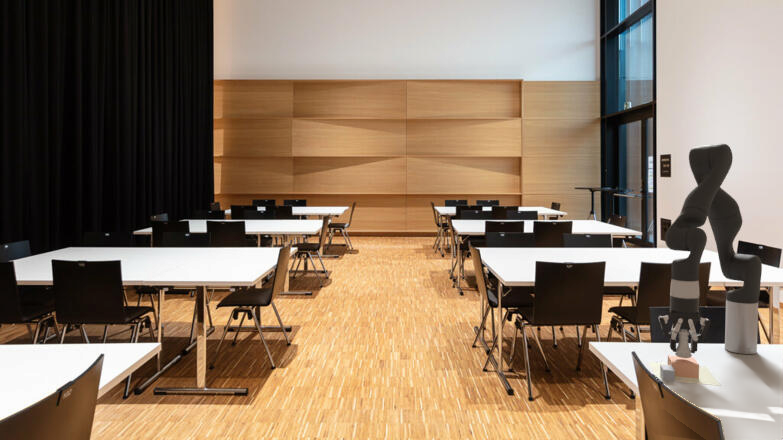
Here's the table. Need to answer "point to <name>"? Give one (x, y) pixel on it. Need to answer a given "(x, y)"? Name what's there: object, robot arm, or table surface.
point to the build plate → (704, 377)
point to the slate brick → (667, 372)
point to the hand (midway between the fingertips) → (683, 351)
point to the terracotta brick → (684, 366)
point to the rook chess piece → (683, 344)
